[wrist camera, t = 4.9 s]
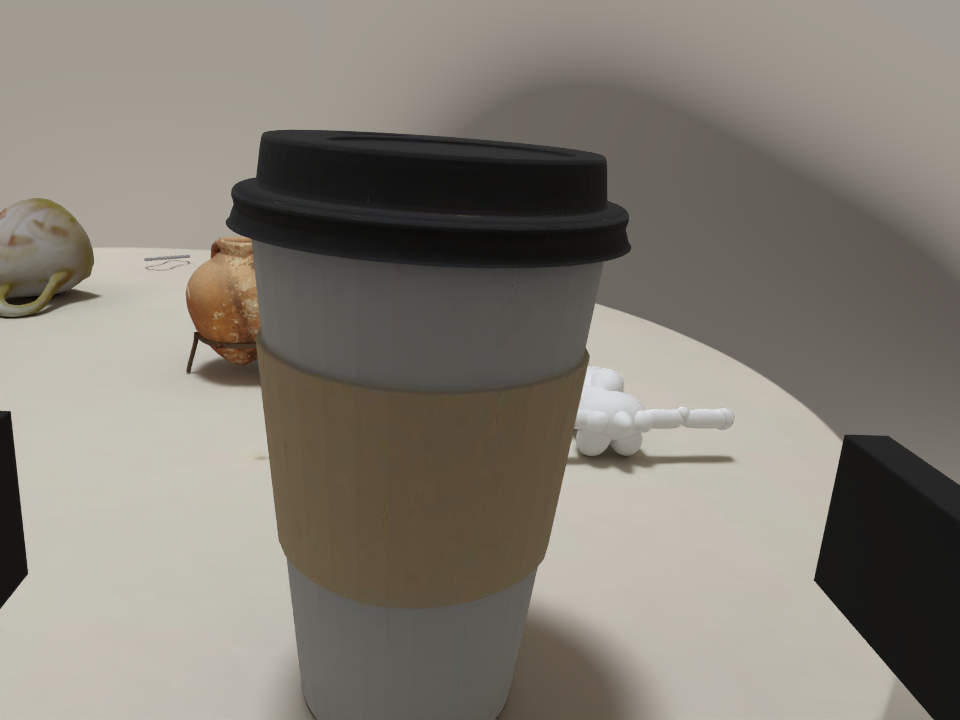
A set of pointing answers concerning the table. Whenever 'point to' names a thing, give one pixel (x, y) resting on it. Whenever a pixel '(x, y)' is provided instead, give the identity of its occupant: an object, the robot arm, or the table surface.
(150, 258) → the necklace
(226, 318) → the pot
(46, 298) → the mug
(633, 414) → the decorative figure
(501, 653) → the coffee cup
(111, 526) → the table surface
